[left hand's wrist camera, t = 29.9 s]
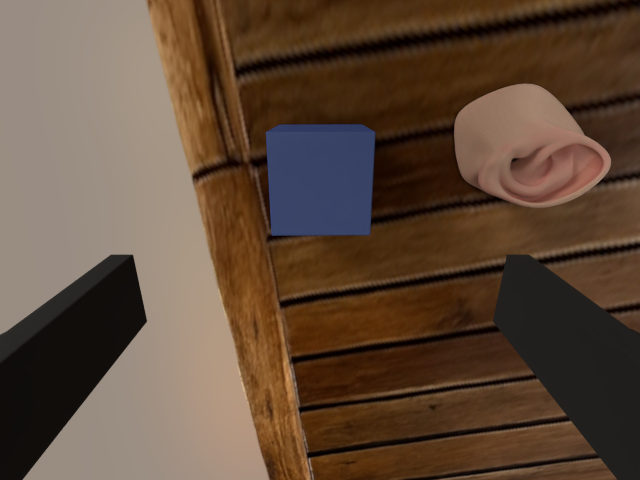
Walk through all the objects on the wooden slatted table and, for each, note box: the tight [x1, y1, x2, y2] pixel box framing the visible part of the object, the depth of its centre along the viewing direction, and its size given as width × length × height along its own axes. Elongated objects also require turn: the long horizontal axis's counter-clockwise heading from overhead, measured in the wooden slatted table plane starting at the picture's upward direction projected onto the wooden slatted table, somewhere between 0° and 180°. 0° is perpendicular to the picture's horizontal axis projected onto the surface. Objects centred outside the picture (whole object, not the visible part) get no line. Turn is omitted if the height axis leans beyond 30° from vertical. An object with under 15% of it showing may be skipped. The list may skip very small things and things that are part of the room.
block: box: [266, 124, 375, 235], centre depth 32 cm, size 8×8×9 cm
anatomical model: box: [454, 84, 611, 208], centre depth 34 cm, size 13×4×12 cm
